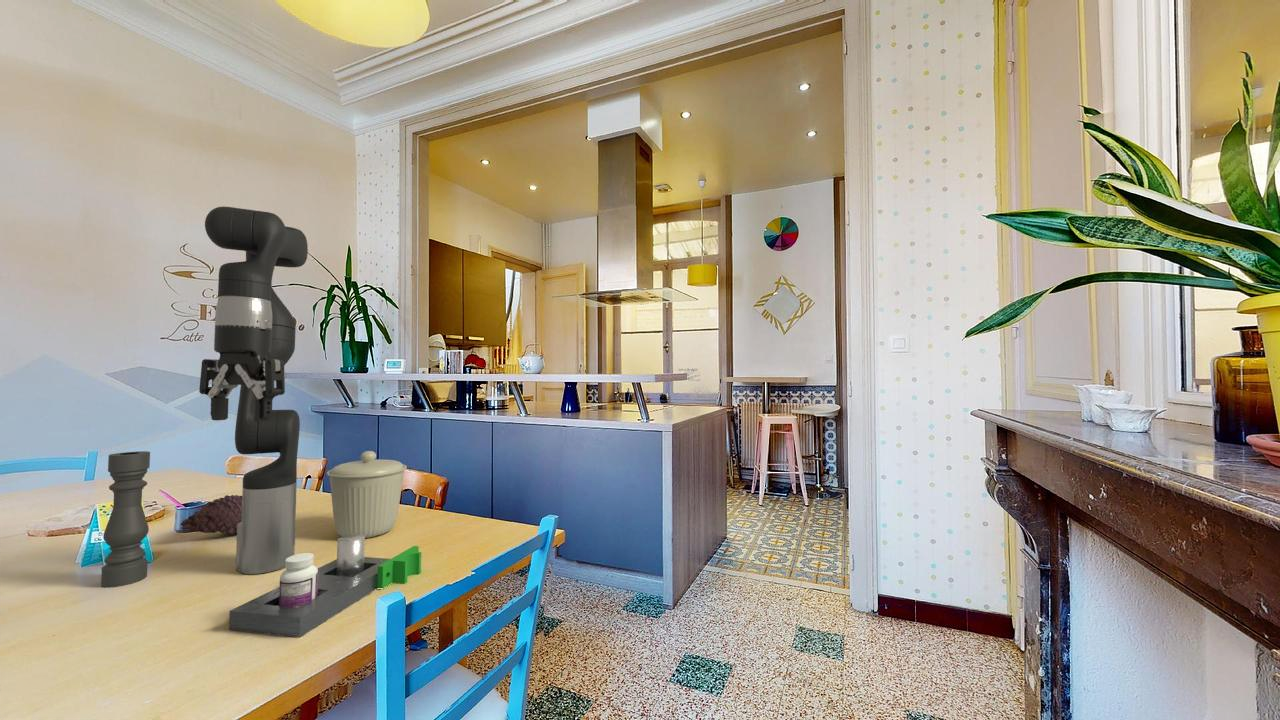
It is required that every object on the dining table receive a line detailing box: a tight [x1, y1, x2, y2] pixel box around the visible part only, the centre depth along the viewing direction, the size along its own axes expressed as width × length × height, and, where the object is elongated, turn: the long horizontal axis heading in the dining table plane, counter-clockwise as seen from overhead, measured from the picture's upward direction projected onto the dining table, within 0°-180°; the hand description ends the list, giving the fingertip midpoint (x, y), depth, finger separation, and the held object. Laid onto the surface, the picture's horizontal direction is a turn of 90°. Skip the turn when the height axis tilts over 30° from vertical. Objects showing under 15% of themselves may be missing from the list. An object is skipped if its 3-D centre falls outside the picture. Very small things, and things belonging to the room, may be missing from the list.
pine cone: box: [180, 494, 242, 536], centre depth 121 cm, size 18×10×10 cm, turn 143°
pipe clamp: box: [377, 545, 422, 589], centre depth 97 cm, size 11×4×5 cm, turn 171°
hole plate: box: [228, 556, 391, 638], centre depth 87 cm, size 13×24×3 cm, turn 171°
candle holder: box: [100, 450, 151, 588], centre depth 95 cm, size 6×6×25 cm
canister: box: [326, 450, 407, 539], centre depth 124 cm, size 18×18×21 cm
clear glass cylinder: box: [336, 534, 366, 577], centre depth 93 cm, size 5×5×9 cm
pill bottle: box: [278, 552, 318, 608], centre depth 82 cm, size 5×5×10 cm
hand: (241, 420), depth 81 cm, fingers open, 8 cm apart
